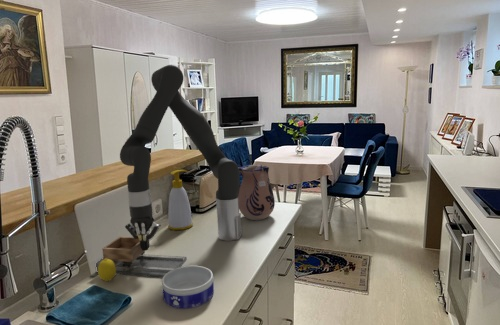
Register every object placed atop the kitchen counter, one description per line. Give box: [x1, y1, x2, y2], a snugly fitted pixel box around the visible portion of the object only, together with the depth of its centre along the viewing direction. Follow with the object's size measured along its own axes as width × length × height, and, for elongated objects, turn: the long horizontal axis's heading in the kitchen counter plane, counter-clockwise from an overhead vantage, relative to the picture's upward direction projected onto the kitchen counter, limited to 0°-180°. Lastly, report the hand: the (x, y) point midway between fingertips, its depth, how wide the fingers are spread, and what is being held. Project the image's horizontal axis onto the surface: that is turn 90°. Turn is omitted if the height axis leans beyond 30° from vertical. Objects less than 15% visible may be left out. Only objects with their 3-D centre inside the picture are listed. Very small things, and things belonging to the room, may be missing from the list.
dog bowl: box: [161, 265, 215, 310], centre depth 112 cm, size 15×15×6 cm
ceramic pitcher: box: [238, 163, 275, 221], centre depth 178 cm, size 18×21×25 cm
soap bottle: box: [167, 169, 194, 231], centre depth 170 cm, size 11×12×26 cm
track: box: [95, 253, 187, 278], centre depth 133 cm, size 28×14×3 cm, turn 78°
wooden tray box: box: [101, 236, 146, 266], centre depth 134 cm, size 11×11×6 cm
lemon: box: [97, 259, 117, 282], centre depth 123 cm, size 6×6×8 cm
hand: (145, 249), depth 132 cm, fingers closed
